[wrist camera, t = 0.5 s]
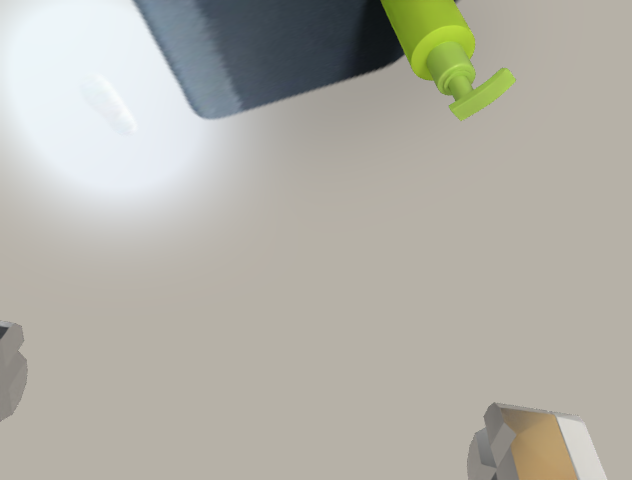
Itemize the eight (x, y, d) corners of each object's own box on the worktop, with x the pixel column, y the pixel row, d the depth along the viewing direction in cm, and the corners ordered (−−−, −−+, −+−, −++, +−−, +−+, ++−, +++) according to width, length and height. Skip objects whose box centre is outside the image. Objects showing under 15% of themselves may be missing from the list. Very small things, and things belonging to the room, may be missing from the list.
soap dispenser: (447, -37, 61) (528, 97, 50) (392, 8, 64) (456, 143, 53) (418, -78, 57) (499, 58, 46) (360, -28, 60) (423, 111, 49)
